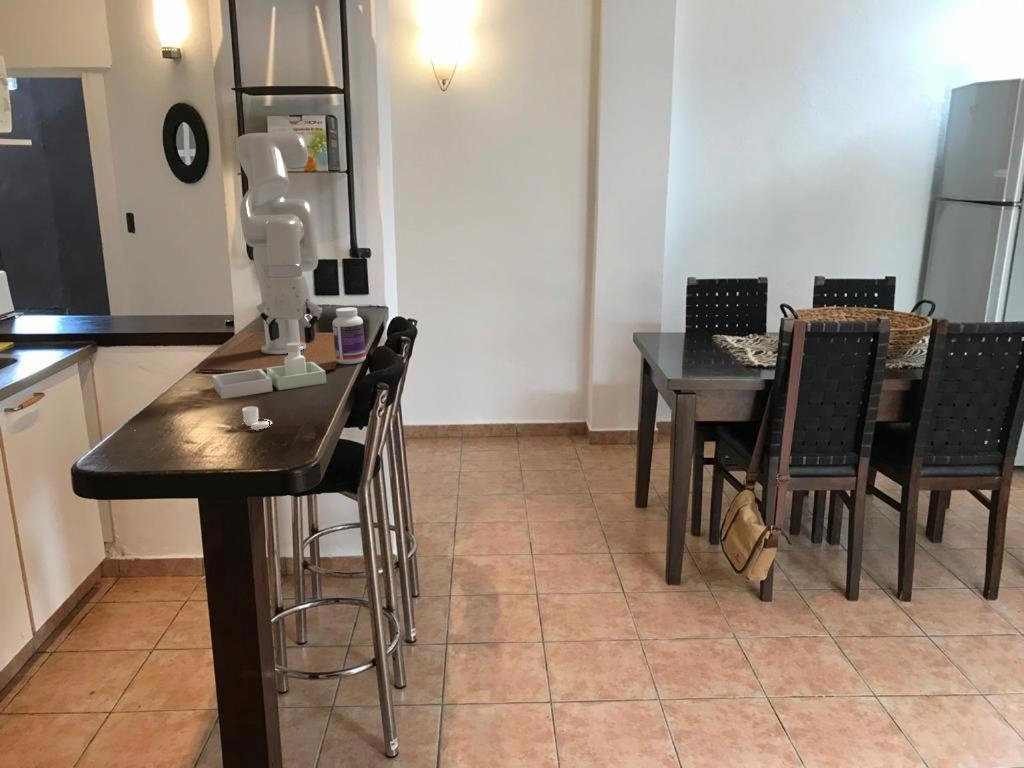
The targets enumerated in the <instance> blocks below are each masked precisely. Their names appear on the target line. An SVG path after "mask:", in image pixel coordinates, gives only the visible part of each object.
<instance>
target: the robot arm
mask: <svg viewBox="0 0 1024 768" xmlns="http://www.w3.org/2000/svg"><path fill="white" fill-rule="evenodd" d="M235 145H236V146H235V148H236V153H237V157H238V160H239V162H240V166H241V168H242V169H243V172H244V173H245V175H246V177H247V179H248V183H249V186H250V187H249V188H248V189H247V191H246V192H245V194H244V196H243V197H242V200H241V202H240V203H241V204H240V207H239V210H240V211H239V216H240V224H241V232H242V236H243V239H244V241H245V243H246V245H248V246H249V247H252V248H253V250H252V257H253V261H254V265H255V269H256V273H257V277H258V283H259V291H260V299H261V303H260V304H258V305H256V309H257V310H258V312H259V314H260V317H261V318H262V320H263V327H264V334H265V336H264V337H265V344H264V345H262V346H261V347H260V351H261V352H262V353H264V354H267V355H286V354H287V353H288V352H287V346H286V344H288V343H295V342H297V343H300V349H301V350H302V351H304V350H306V349H307V344H310V343H312V342H314V341H315V337H316V333H315V332H316V331H315V325H316V324H317V323H318V321H319V320H320V319H321V315H322V313H323V308H322V307H320V306H319V305H317V304H316V303H314V302H312V301H311V297H310V291H309V286H308V282H307V279H306V277H305V276H304V275H303V272H304V273H305V272H306V273H308V272H312V271H314V270H316V269H317V267H318V266H319V265H318V264H319V255H318V244H317V237H316V236H317V235H316V228H315V218H314V214H313V208H312V206H311V204H310V202H308V201H307V200H306V199H303V198H287V199H286V198H285V194H286V193H287V192H288V191H289V189H290V179H289V175H288V173H289V172H288V169H287V168H304V167H306V166H307V164H308V161H309V148H308V144H307V142H306V140H305V138H304V136H303V135H302V134H300V133H298V132H251V133H246V134H242V135H241V136H238V138H237V139H236V143H235ZM312 311H313V316H312ZM300 320H301V321H302V323H303V324H304V325H305V327H303V328H304V329H303V331H304V340H305V342H303V341H301V337H300V336H301V335H300V325H299V321H300ZM303 349H304V350H303ZM287 355H288V354H287Z"/></svg>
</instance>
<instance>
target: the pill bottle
mask: <svg viewBox="0 0 1024 768" xmlns="http://www.w3.org/2000/svg"><path fill="white" fill-rule="evenodd" d="M335 314H336V316H337V317H335V318H334V319H333V321H332V331H333V332H332V333H333V334H332V335H333V341H334V342H333V343H334V353H335V360H336V362H337V363H338V364H340V365H341V364H342V365H354V364H360V363H362V362H364V361H365V360H366V359H367V358H366V357H367V353H366V341H365V332H364V321H363V319H362V317H360V316H358V308H356V307H349V306H348V307H340V308H337V309H335Z"/></svg>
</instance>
